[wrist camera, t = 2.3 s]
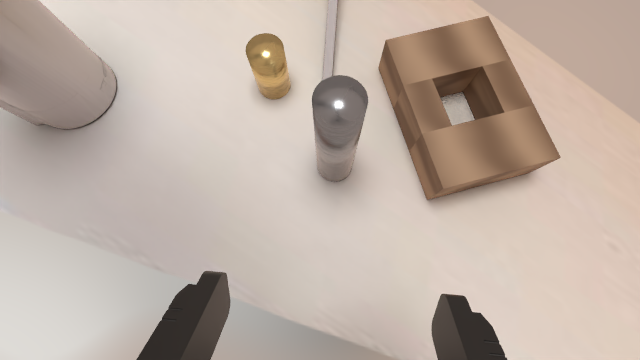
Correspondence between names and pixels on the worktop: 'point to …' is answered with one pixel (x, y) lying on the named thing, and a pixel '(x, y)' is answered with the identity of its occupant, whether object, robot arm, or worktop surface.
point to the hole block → (483, 98)
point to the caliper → (330, 39)
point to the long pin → (338, 124)
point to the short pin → (269, 65)
